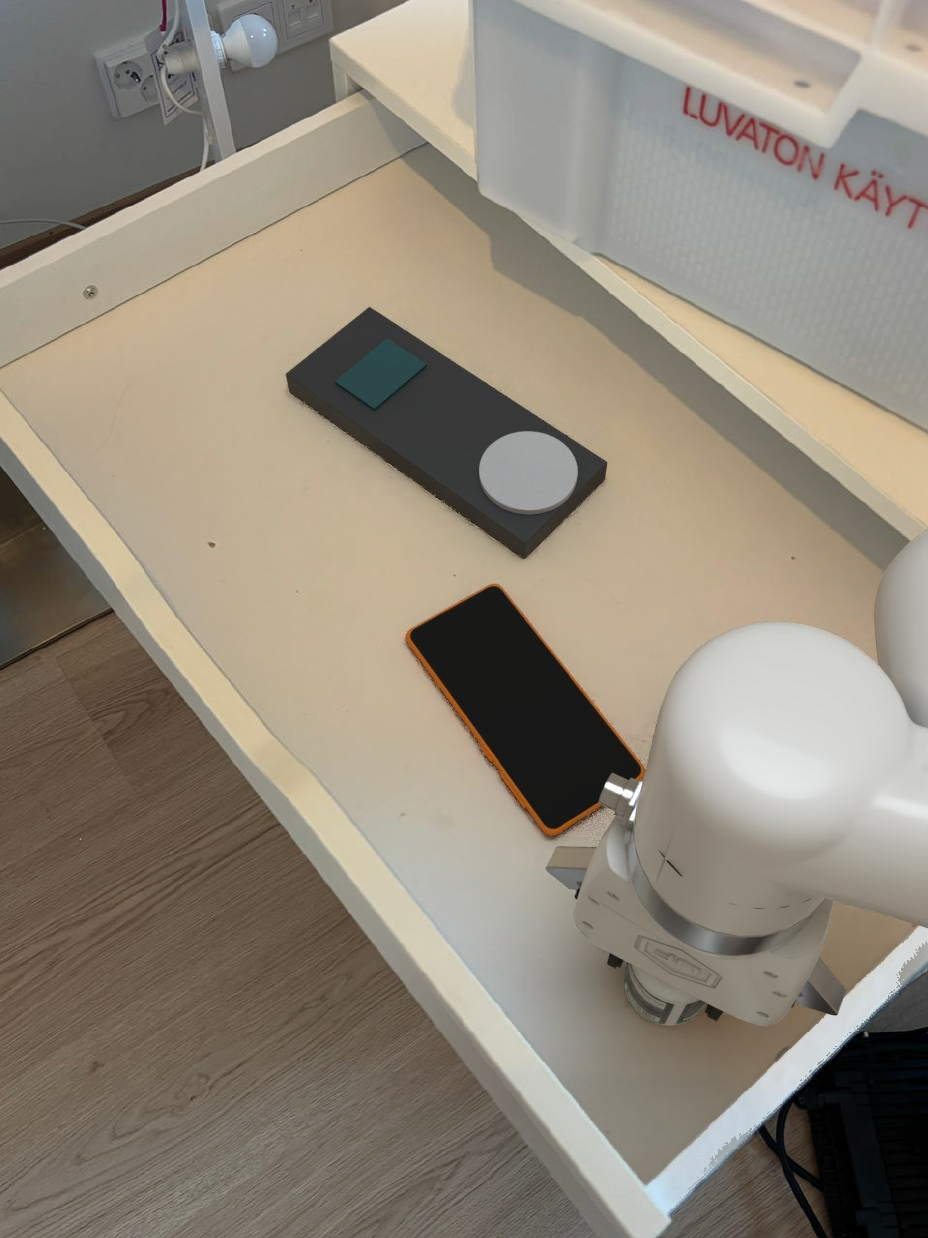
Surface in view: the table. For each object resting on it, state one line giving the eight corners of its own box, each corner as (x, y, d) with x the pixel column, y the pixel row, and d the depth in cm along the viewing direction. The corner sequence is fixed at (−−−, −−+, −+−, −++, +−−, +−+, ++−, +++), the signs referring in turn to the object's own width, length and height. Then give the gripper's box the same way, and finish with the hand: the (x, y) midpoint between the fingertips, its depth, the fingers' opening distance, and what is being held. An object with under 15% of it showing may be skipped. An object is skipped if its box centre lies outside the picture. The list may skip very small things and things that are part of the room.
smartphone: (496, 584, 77) (497, 577, 76) (648, 778, 70) (650, 773, 69) (400, 638, 75) (399, 632, 74) (547, 844, 68) (547, 839, 67)
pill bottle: (708, 942, 63) (733, 898, 56) (708, 1031, 61) (734, 997, 54) (622, 934, 64) (636, 889, 57) (619, 1022, 62) (633, 987, 54)
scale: (605, 479, 81) (608, 456, 79) (524, 559, 78) (525, 538, 76) (371, 324, 89) (368, 299, 87) (288, 391, 86) (283, 367, 83)
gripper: (485, 836, 44) (494, 953, 60) (916, 1052, 40) (803, 1118, 55) (569, 683, 48) (557, 832, 63) (977, 866, 43) (854, 978, 59)
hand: (672, 965), depth 59 cm, fingers closed on pill bottle, 4 cm apart
